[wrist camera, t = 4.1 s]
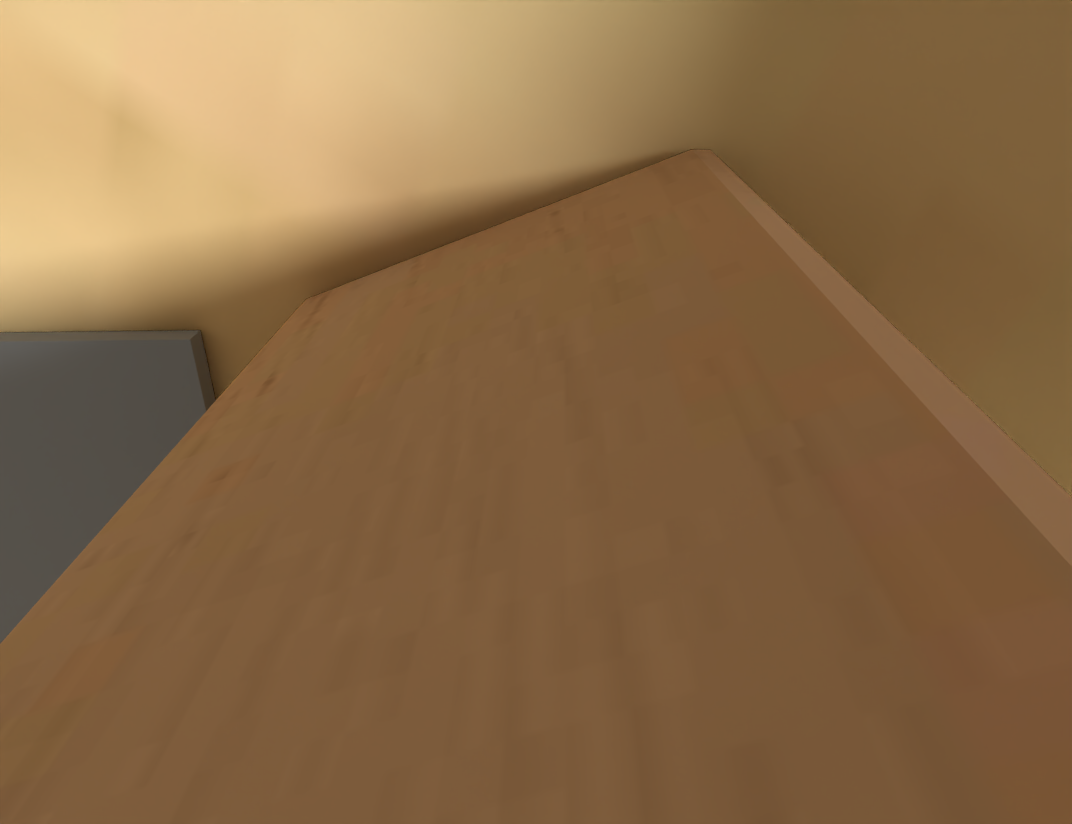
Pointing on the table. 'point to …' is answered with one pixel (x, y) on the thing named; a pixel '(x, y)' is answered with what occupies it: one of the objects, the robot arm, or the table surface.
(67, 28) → the table surface
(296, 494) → the wooden block
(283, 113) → the table surface
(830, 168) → the table surface
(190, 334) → the mat
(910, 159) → the table surface
